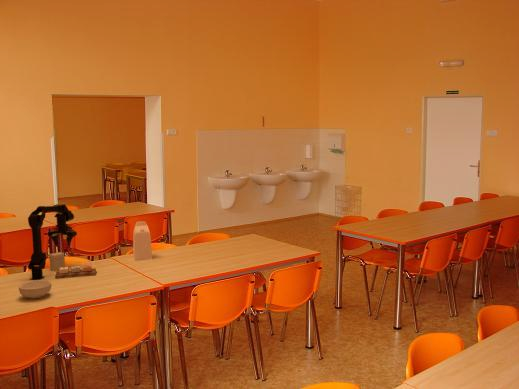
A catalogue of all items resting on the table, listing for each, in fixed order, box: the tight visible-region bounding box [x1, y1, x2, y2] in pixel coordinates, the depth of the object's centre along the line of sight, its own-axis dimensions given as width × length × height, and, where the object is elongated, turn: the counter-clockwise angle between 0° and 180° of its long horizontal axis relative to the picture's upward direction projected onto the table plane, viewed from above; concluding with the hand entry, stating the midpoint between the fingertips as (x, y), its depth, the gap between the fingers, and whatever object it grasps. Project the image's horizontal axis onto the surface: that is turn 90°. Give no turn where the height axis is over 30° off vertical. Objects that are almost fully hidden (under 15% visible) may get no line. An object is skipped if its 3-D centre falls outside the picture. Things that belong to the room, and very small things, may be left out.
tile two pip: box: [70, 265, 81, 273], centre depth 348 cm, size 5×5×3 cm
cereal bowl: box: [18, 279, 52, 300], centre depth 306 cm, size 17×17×7 cm
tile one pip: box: [58, 266, 69, 274], centre depth 346 cm, size 5×5×3 cm
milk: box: [132, 221, 153, 261], centre depth 387 cm, size 12×12×26 cm
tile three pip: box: [82, 264, 93, 272], centre depth 350 cm, size 5×5×3 cm
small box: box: [48, 251, 66, 272], centre depth 363 cm, size 8×6×10 cm
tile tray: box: [54, 267, 97, 280], centre depth 348 cm, size 24×10×2 cm, turn 105°
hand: (63, 246), depth 366 cm, fingers open, 9 cm apart
